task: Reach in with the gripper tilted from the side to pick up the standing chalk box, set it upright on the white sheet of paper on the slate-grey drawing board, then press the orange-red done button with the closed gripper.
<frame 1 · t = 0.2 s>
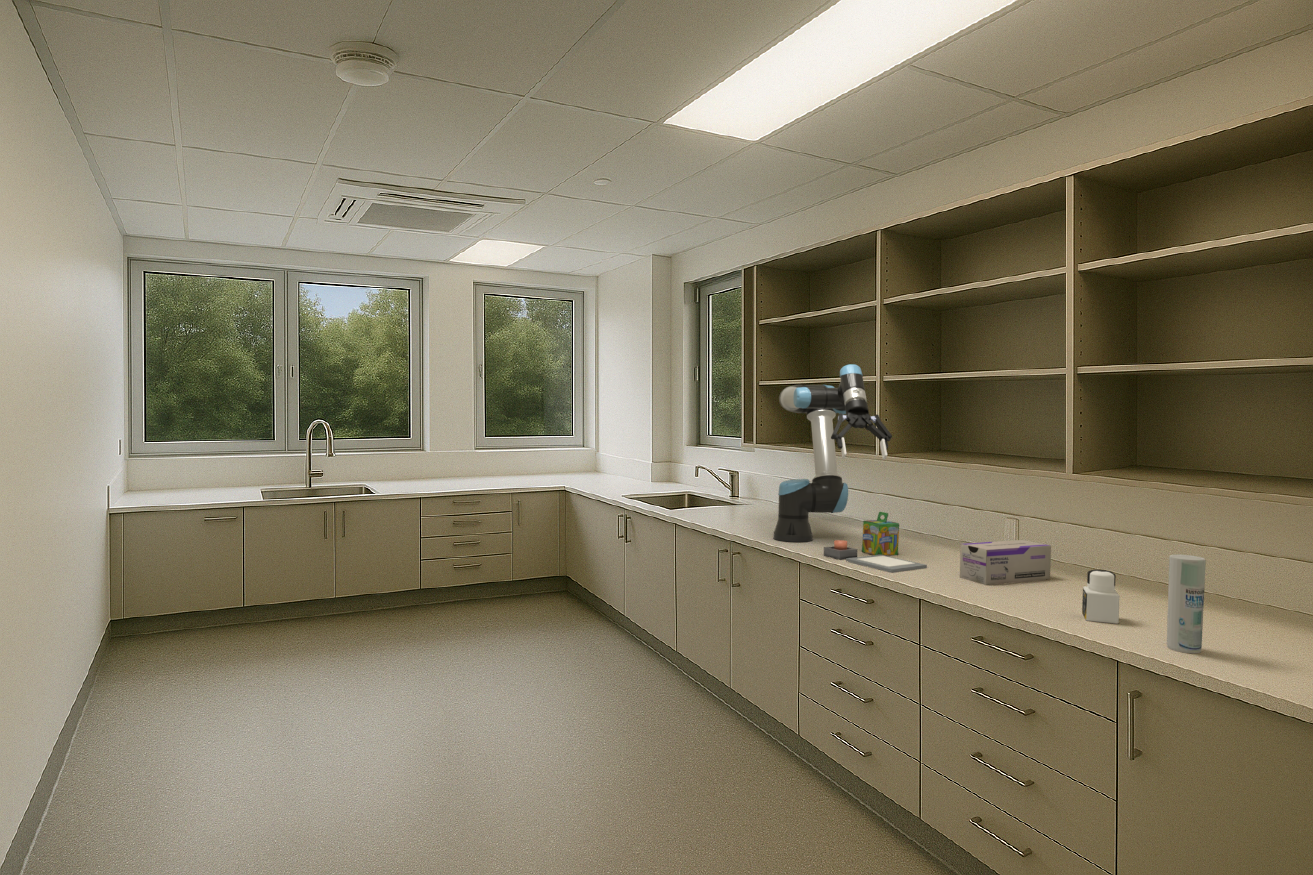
hand: (864, 456, 257), 35 cm above the table, tool tilted 35°, fingers open, 13 cm apart
done button: (840, 545, 270), point 4 cm above the table, slide at 0.0 cm
spray can: (1183, 649, 169), on the table
medicine bottle: (1099, 619, 193), on the table
button housing: (840, 556, 270), on the table
surgical sutures box: (1004, 579, 238), on the table
chalk box: (880, 554, 277), on the table
drawing board: (885, 564, 257), on the table
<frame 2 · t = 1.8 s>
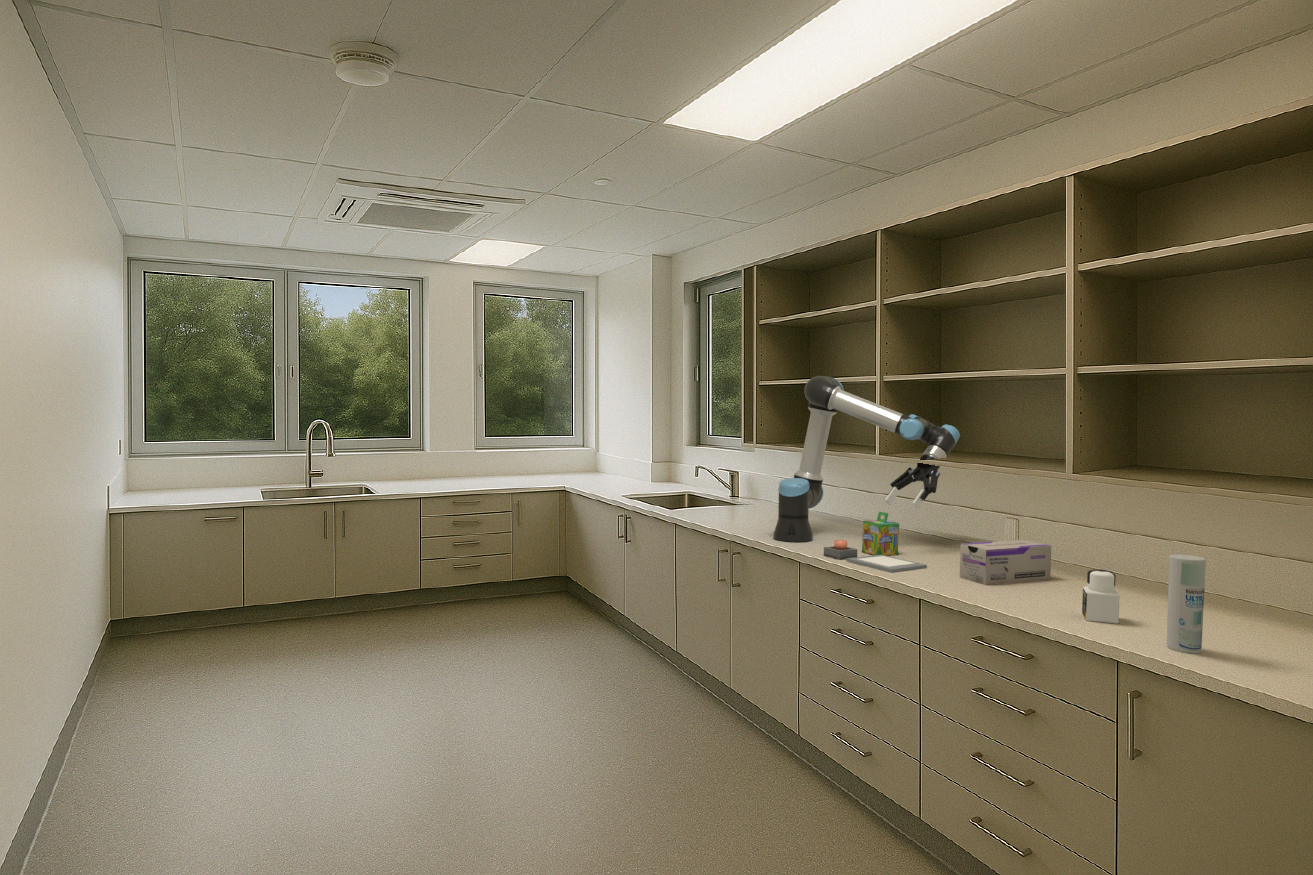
hand: (901, 504, 280), 17 cm above the table, tool tilted 45°, fingers open, 13 cm apart
nothing on the table moved.
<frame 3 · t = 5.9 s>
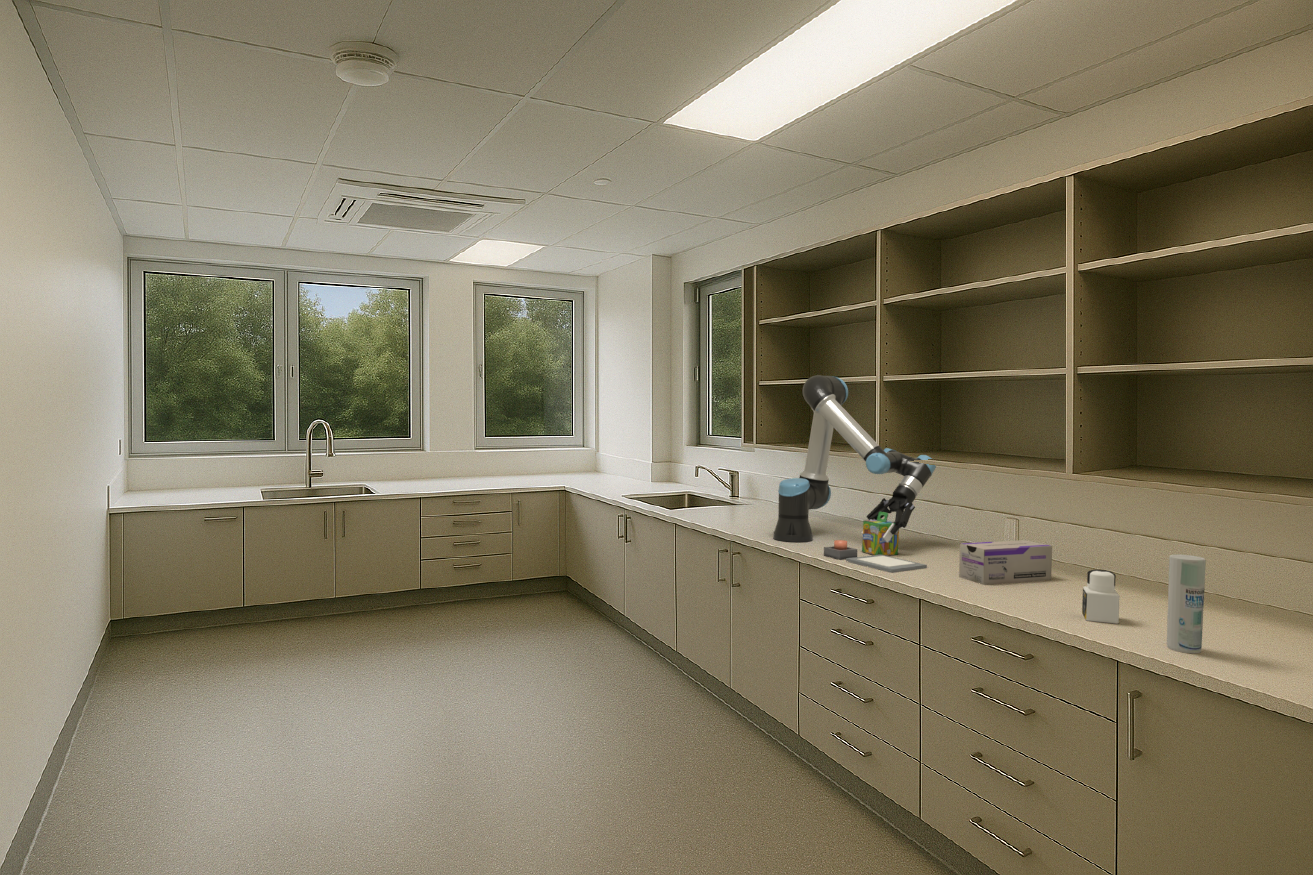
hand: (874, 537, 275), 6 cm above the table, tool tilted 45°, fingers closed on chalk box, 10 cm apart
chalk box: (880, 554, 277), on the table, touching gripper
everything else where it was.
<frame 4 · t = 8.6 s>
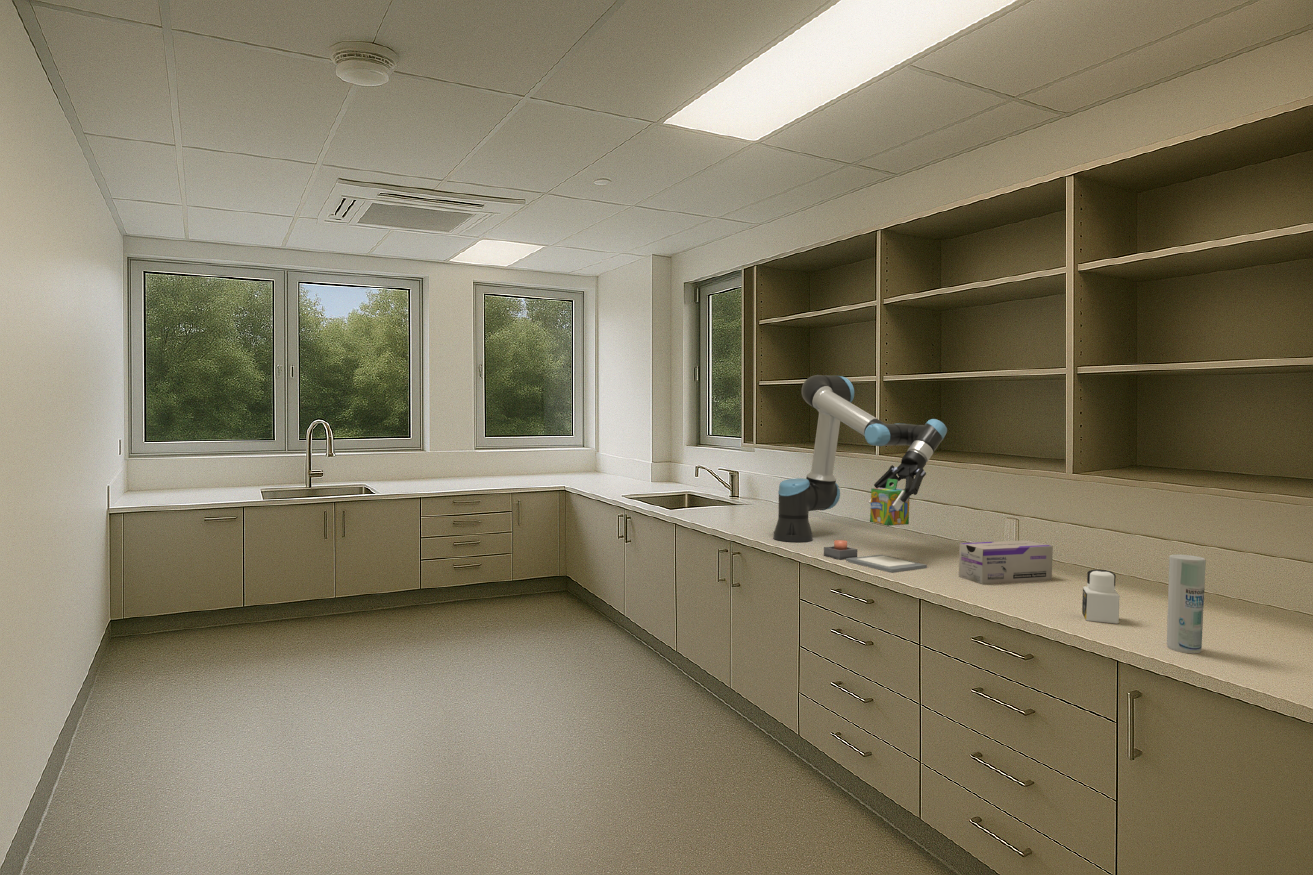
hand: (883, 506, 257), 19 cm above the table, tool tilted 45°, fingers closed on chalk box, 9 cm apart
chalk box: (889, 524, 259), point 13 cm above the table, touching gripper
everything else where it was.
when the fingers open (8 cm above the table, at t = 11.8 s): chalk box drops 1 cm, resting on drawing board.
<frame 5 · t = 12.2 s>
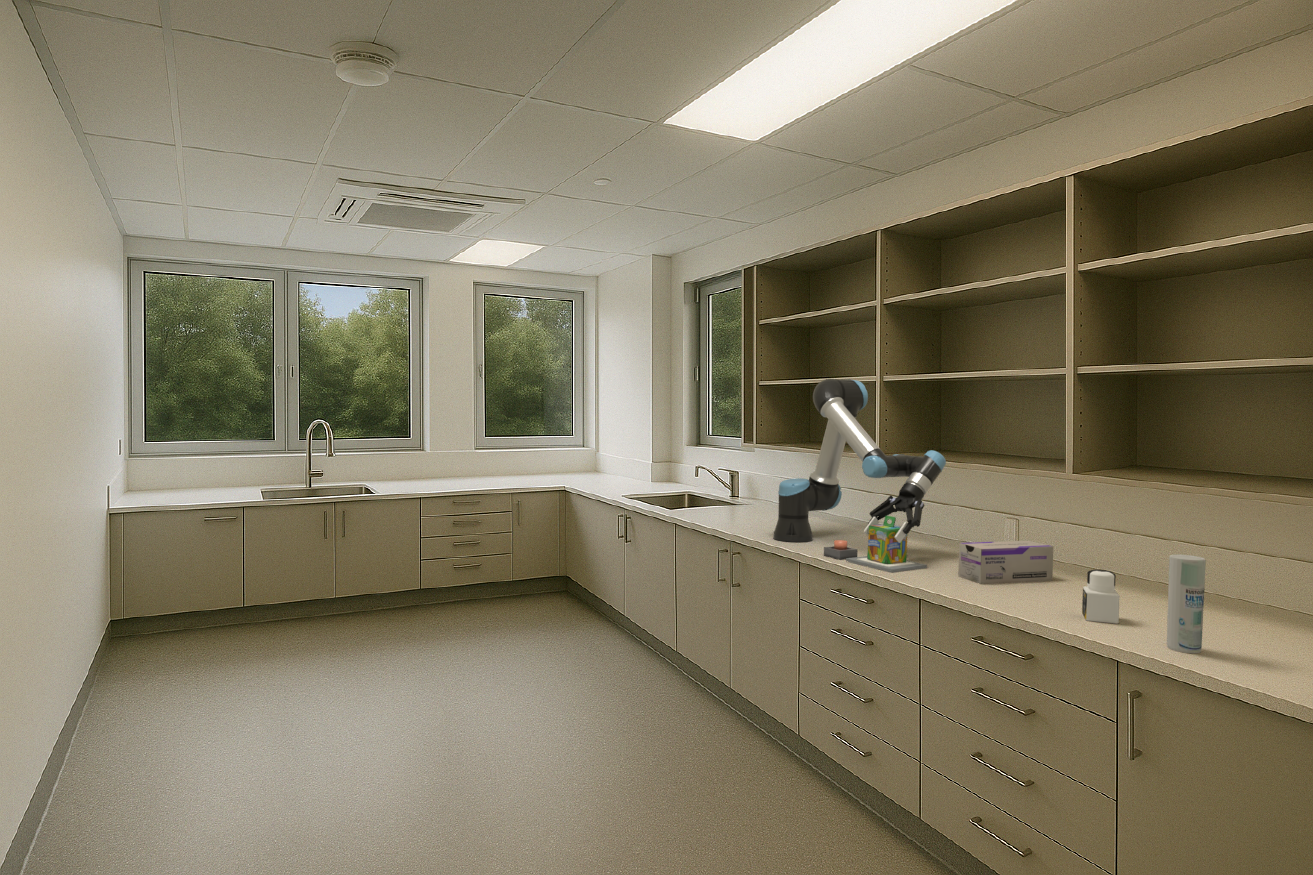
hand: (881, 536, 256), 9 cm above the table, tool tilted 45°, fingers open, 13 cm apart
chalk box: (887, 561, 257), point 1 cm above the table, touching drawing board
everything else where it was.
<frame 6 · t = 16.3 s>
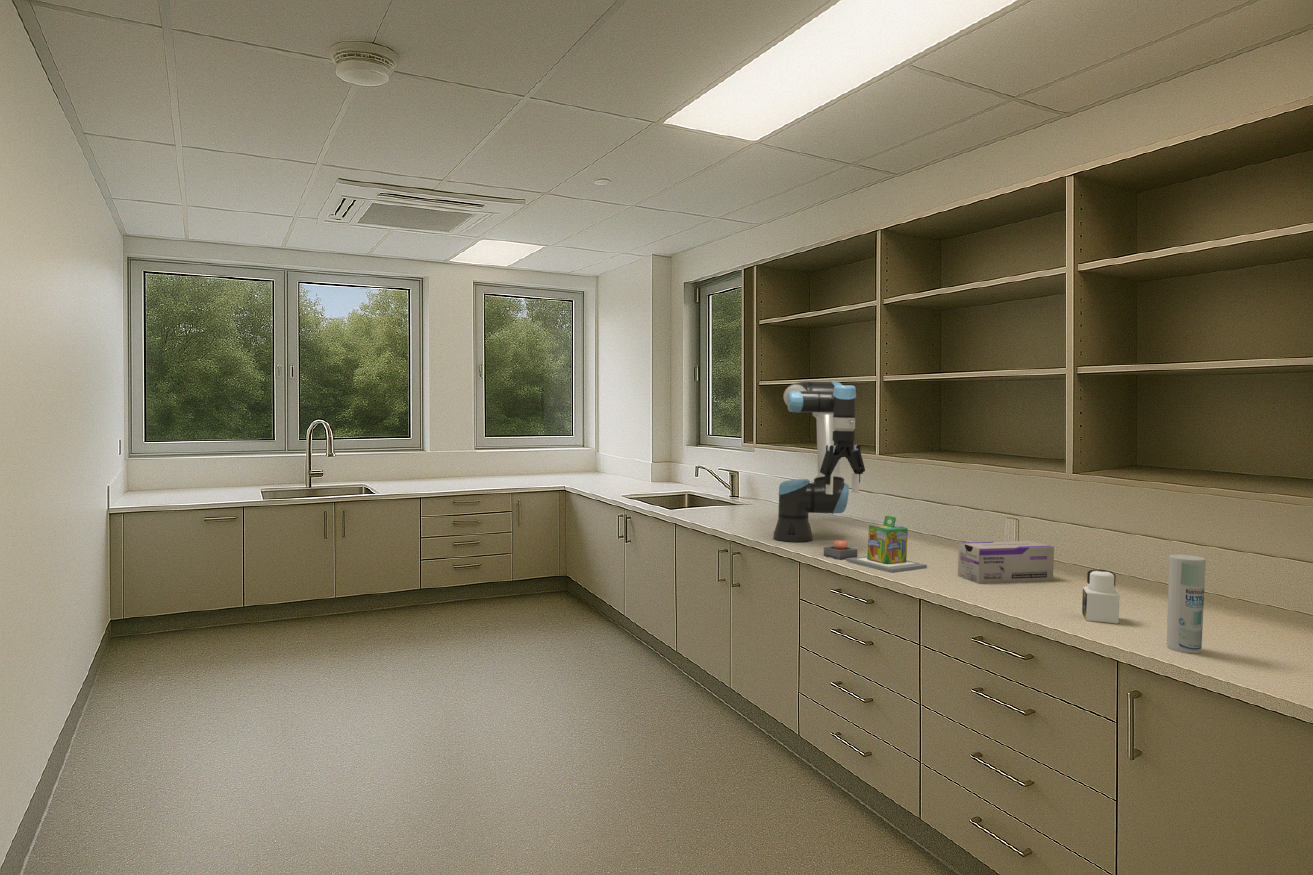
hand: (842, 493, 269), 22 cm above the table, tool pointing down, fingers open, 11 cm apart
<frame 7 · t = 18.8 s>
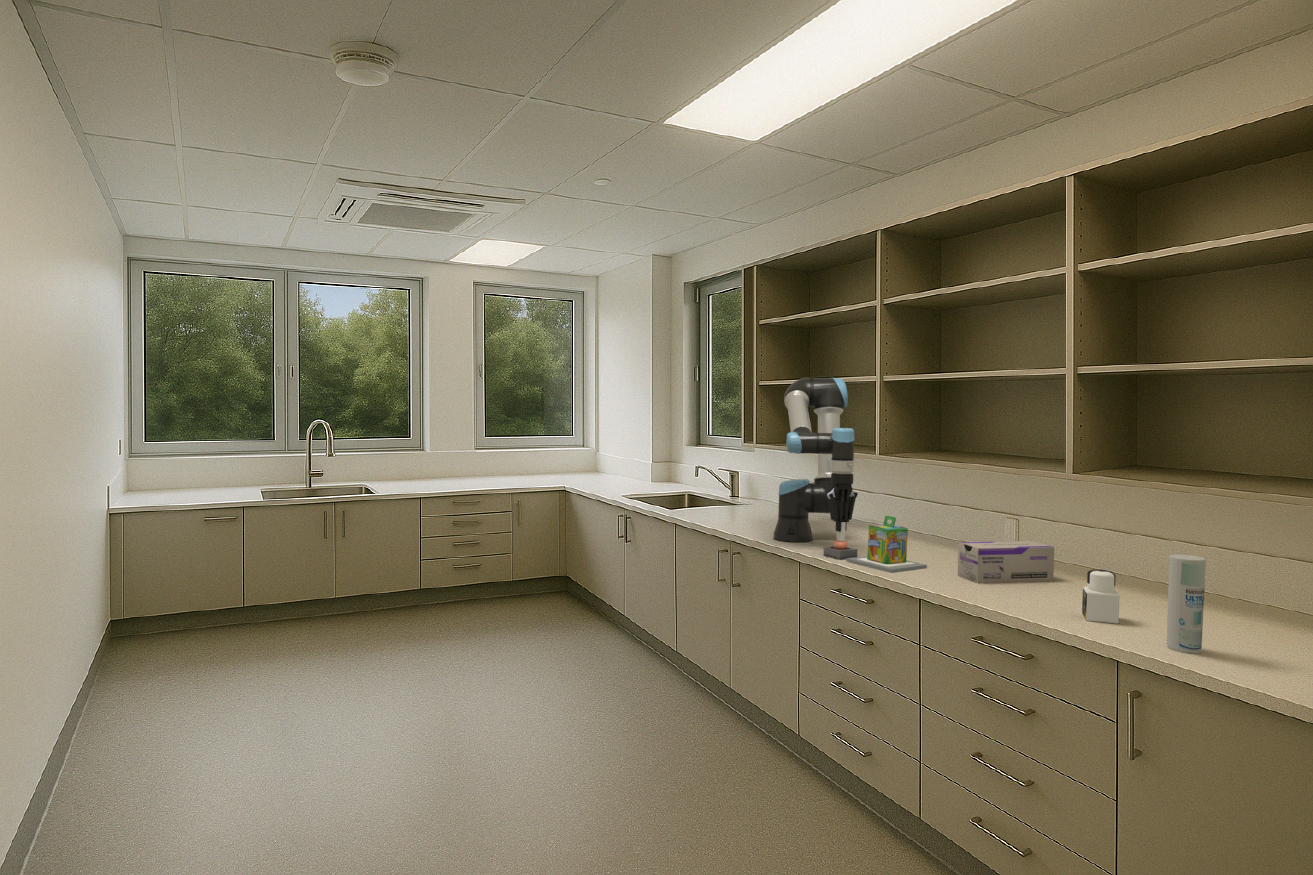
hand: (840, 540, 270), 6 cm above the table, tool pointing down, fingers closed
done button: (840, 545, 270), point 4 cm above the table, slide at 0.1 cm, touching gripper
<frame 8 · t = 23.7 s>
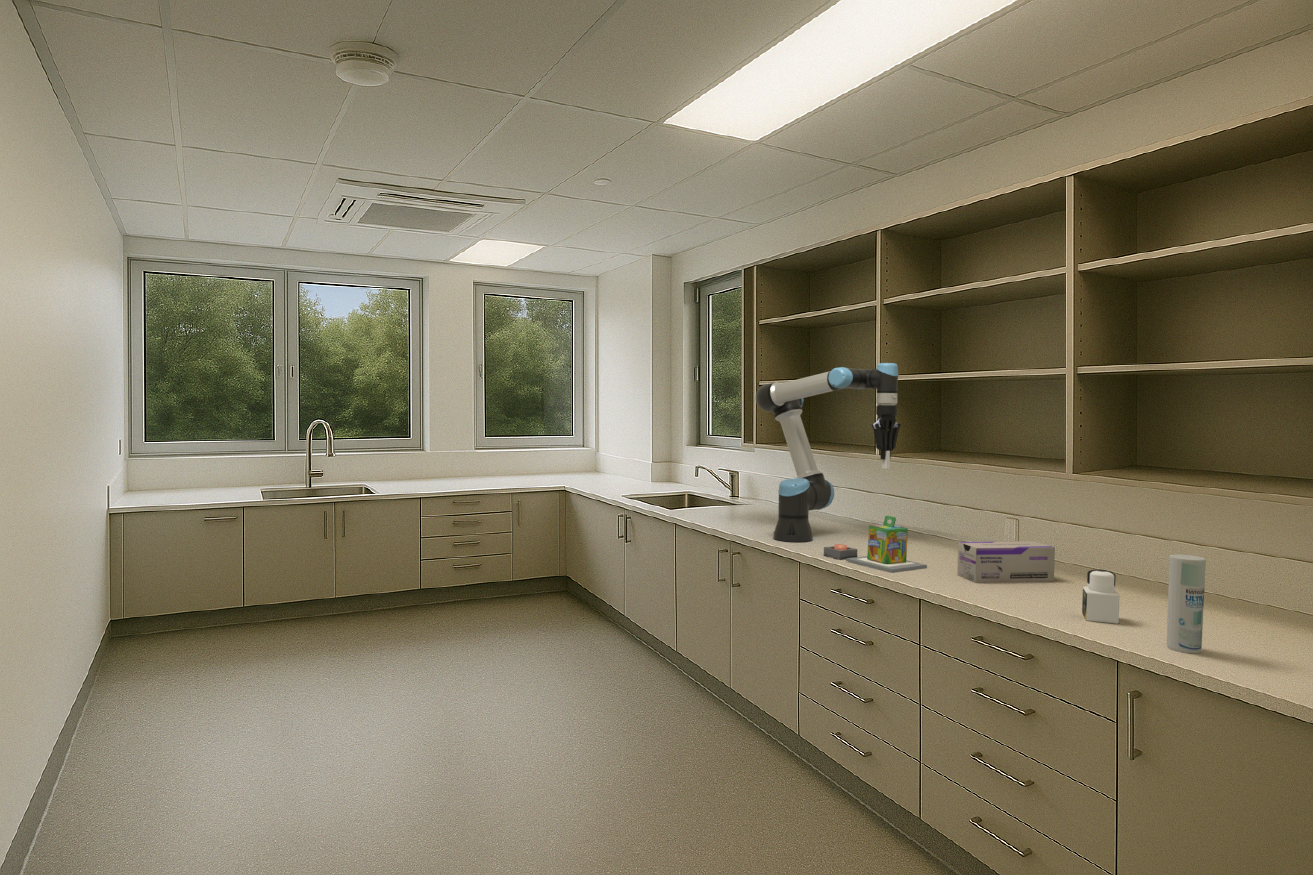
hand: (885, 468, 290), 29 cm above the table, tool pointing down, fingers closed
done button: (840, 549, 270), point 3 cm above the table, slide at 1.5 cm
at the end: chalk box inside the target area on the drawing board (0.4 cm from its centre), point 1.0 cm above the drawing board's base; chalk box tilted 0°; done button slide at 1.5 cm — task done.
